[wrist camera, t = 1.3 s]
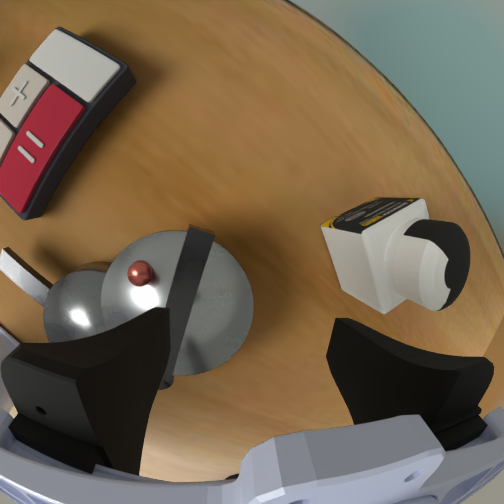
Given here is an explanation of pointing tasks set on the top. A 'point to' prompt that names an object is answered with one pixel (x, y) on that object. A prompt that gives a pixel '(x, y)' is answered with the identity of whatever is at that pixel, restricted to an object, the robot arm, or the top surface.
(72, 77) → the calculator
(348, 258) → the medicine bottle
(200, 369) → the lid
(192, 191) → the top surface
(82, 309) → the pot
